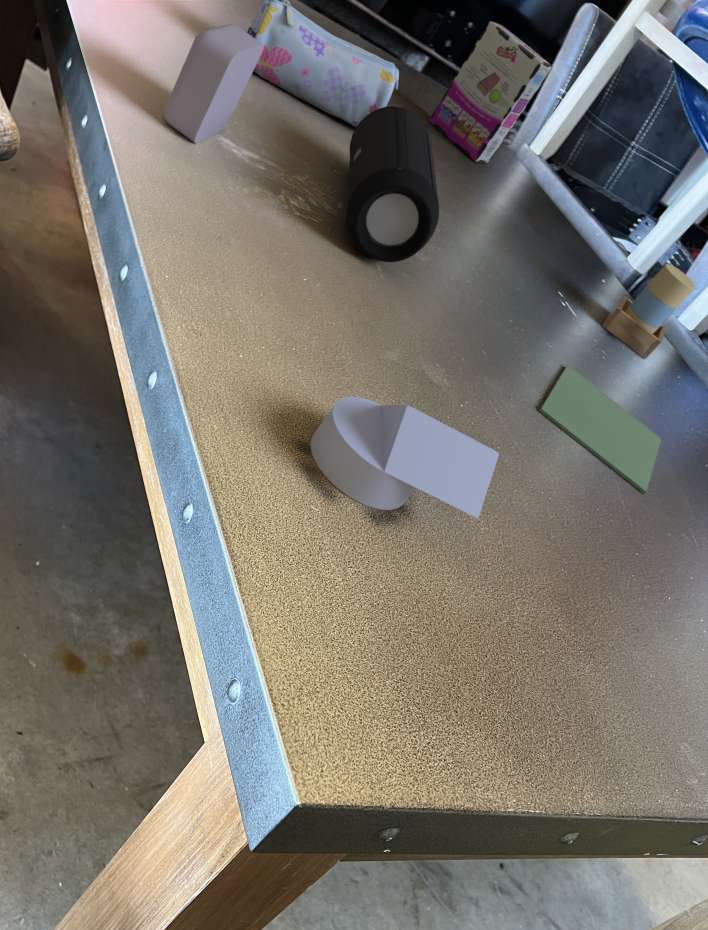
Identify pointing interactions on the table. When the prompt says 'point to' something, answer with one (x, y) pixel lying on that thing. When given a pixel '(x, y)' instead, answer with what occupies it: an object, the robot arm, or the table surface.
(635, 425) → the mat
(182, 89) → the mauve upright block
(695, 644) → the table surface
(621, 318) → the holder
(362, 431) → the wedge on round base
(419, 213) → the portable speaker
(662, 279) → the tape stack
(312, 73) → the pencil case
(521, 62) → the popsicle box
